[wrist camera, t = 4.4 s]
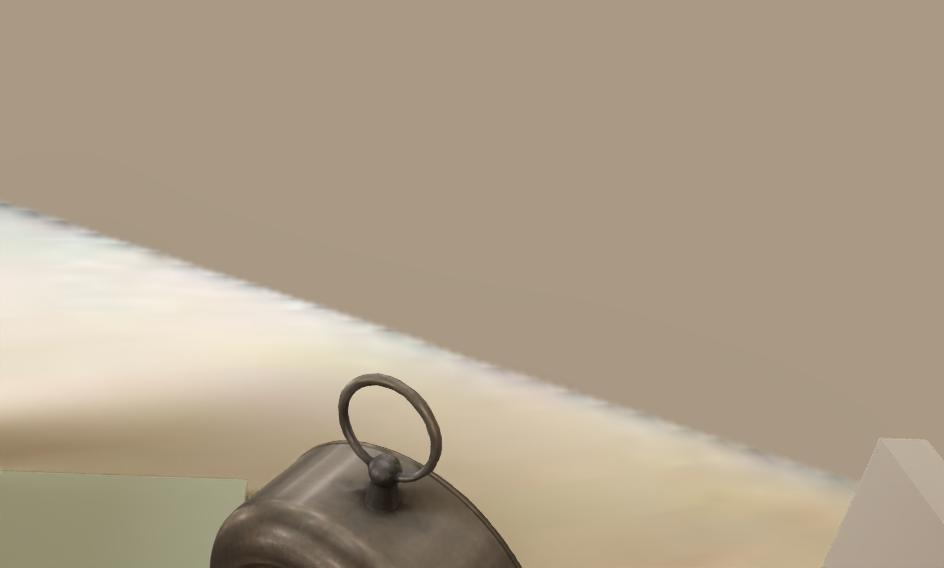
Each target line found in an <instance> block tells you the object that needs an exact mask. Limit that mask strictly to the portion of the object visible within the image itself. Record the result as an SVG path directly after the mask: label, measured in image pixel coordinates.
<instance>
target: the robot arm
mask: <svg viewBox="0 0 944 568" xmlns="http://www.w3.org/2000/svg"><path fill="white" fill-rule="evenodd" d="M822 568H944V461H943V459H942V458H941V457H940V456H939V455H938V453H937V452H936V451H935V449H934V448H933V447H932V446H931V445H930V443H929V442H928V441H927V440H923V439H897V438H880V439H879V441H878V443H877V446H876V448H875V450H874V452H873V454H872V457H871V459H870V461H869V463H868V465H867V468H866V470H865V472H864V474H863V477H862V479H861V481H860V483H859V485H858V488H857V490H856V492H855V494H854V497H853V499H852V501H851V503H850V506H849V508H848V510H847V512H846V514H845V517H844V519H843V521H842V523H841V526H840V528H839V530H838V532H837V535H836V537H835V539H834V541H833V543H832V546H831V548H830V550H829V552H828V555H827V557H826V559H825V561H824V564H823V566H822Z"/></svg>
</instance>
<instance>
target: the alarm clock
mask: <svg viewBox="0 0 944 568" xmlns="http://www.w3.org/2000/svg"><path fill="white" fill-rule="evenodd" d="M372 385H378V386H383V387H386V388H389V389H392V390H394V391H396V392H397V393H399V394H401V395H403V396H404V397H405V398H406V399H407V400H408V401H409V402H410V403H411V404H412V405H413V406H414V408H415V409H416V410H417V412H418V413H419V414H420V416H421V417H422V419H423V420H424V422H425V424H426V428H427V431H428V434H429V436H430V441H431V453H430V457H429V460H428V462H427V463H426V464H425V465H422V464H420V463H418V462H416V461H414V460H412V459H411V458H409V457H407V456H404V455H402V454H400V453H398V452H395V451H392V450H390V449H387V448H384V447H381V446H377V445H373V444H369V443H365V442H358V440H357V438H356V436H355V434H354V432H353V430H352V427H351V424H350V421H349V416H348V406H349V401H350V399H351V397H352V395H353V394H354V393H355V392H356V391H357V390H359V389H360V388H363V387H366V386H372ZM338 409H339V420H340V426H341V428H342V431H343V434H344V436H345V438H346V439H347V441H333V442H328V443H324V444H321V445H318V446H316V447H314V448H312V449H310V450H309V451H307V452H306V453H304V454H303V455H302V456H301V457H300V458H299V459H298V460H297V461H296V462H295V463H294V464H293V465H292V466H290V467H289V468H288V469H286V470H285V471H284V472H282V473H281V474H280V475H279V476H277V477H276V478H275V479H273V480H272V481H271V482H269V483H268V484H267V485H266V486H264V487H263V488H262V489H261V490H259V491H258V492H257V493H255V494H254V495H253V496H252V497H250V498H249V499H248V500H247V501H245V502H244V503H243V504H241V505H240V506H239V507H238V508H236V509H235V510H234V511H233V512H232V513H231V514H230V515H229V516H228V518H227V519H226V520H225V521H224V522H223V524H222V525H221V527H220V529H219V531H218V533H217V535H216V538H215V541H214V544H213V548H212V552H211V557H210V568H522V567H521V565H520V564H519V562H518V561H517V559H516V557H515V555H514V554H513V552H512V551H511V550H510V548H509V547H508V545H507V544H506V542H505V541H504V540H503V538H502V537H501V536H500V534H499V533H498V532H497V531H496V529H495V528H494V527H493V526H492V525H491V523H490V522H489V521H488V519H487V518H486V517H485V516H484V515H483V514H482V513H481V512H480V511H479V510H478V509H477V507H476V506H475V505H474V504H473V503H472V502H471V501H470V500H469V499H468V498H467V497H466V496H464V495H463V494H462V493H461V492H459V491H458V490H457V489H456V488H454V487H453V486H452V485H451V484H450V483H448V482H447V481H446V480H444V479H443V478H442V477H440V476H439V475H437V474H436V473H434V472H433V470H434V468H435V466H436V464H437V462H438V460H439V458H440V455H441V451H442V437H441V433H440V428H439V425H438V423H437V421H436V419H435V417H434V415H433V413H432V411H431V409H430V408H429V406H428V404H427V402H426V401H425V400H424V399H423V398H422V397H421V396H420V395H419V394H418V393H417V392H416V391H415V390H413V389H412V388H410V387H409V386H408V385H406V384H405V383H403V382H402V381H400V380H398V379H396V378H393V377H391V376H387V375H383V374H379V373H378V374H366V375H362V376H359V377H357V378H355V379H353V380H352V381H351V382H349V383H348V384H347V385H346V386H345V388H344V389H343V391H342V392H341V395H340V399H339V405H338Z"/></svg>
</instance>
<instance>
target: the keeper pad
mask: <svg viewBox="0 0 944 568" xmlns="http://www.w3.org/2000/svg"><path fill="white" fill-rule="evenodd" d="M246 497H247V479H226V478H198V477H170V476H142V475H113V474H85V473H57V472H29V471H1V470H0V568H210V557H211V552H212V548H213V544H214V541H215V538H216V535H217V533H218V531H219V529H220V527H221V525H222V524H223V522H224V521H225V520H226V519H227V518H228V516H229V515H230V514H231V513H232V512H233V511H234V510H235V509H236V508H238V507H239V506H240V505H241V504H243V503H244V502H245V501H246Z"/></svg>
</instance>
